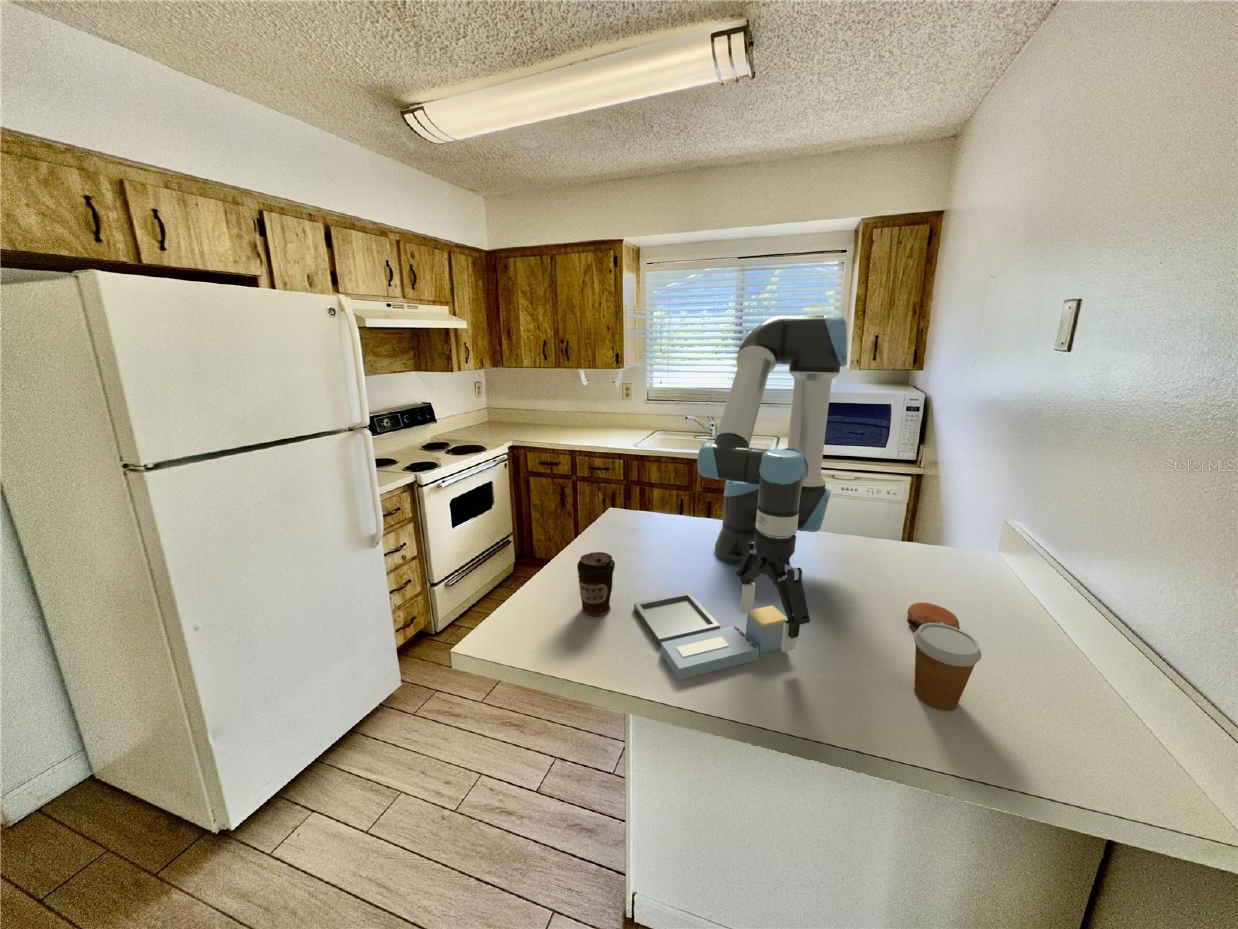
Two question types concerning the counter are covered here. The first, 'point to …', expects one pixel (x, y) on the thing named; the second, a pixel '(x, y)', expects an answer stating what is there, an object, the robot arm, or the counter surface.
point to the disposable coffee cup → (943, 664)
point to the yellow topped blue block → (765, 628)
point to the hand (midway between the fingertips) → (766, 629)
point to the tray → (674, 617)
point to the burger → (930, 615)
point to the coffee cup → (595, 582)
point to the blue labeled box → (708, 652)
